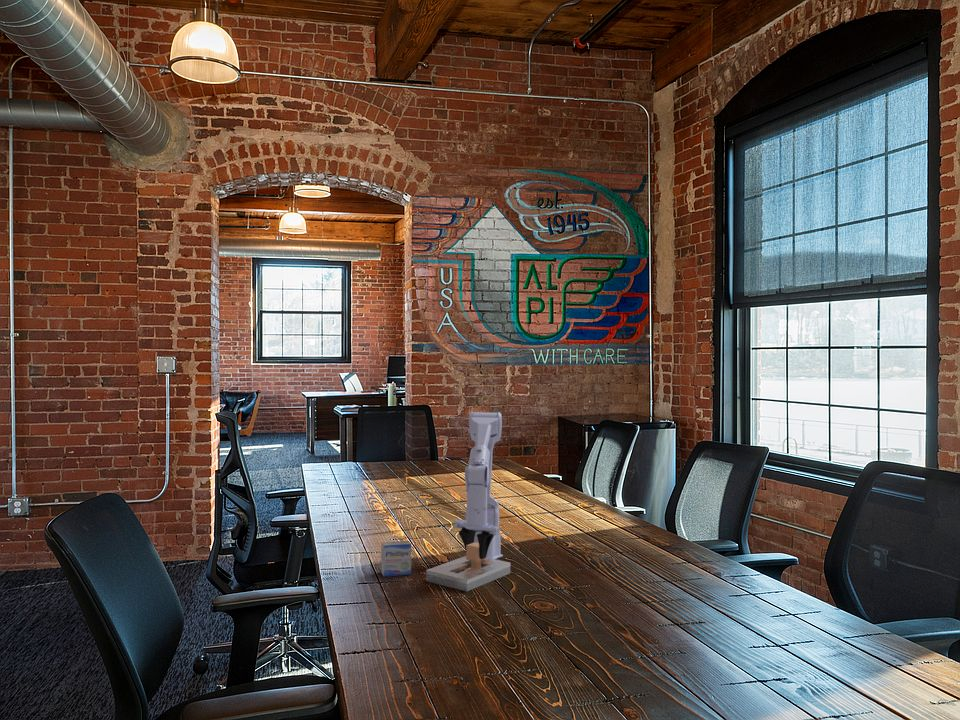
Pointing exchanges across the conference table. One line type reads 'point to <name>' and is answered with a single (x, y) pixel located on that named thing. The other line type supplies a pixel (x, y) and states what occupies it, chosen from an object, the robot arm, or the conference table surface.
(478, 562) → the headed stud
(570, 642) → the conference table surface
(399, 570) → the medicine box
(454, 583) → the keyhole plate
